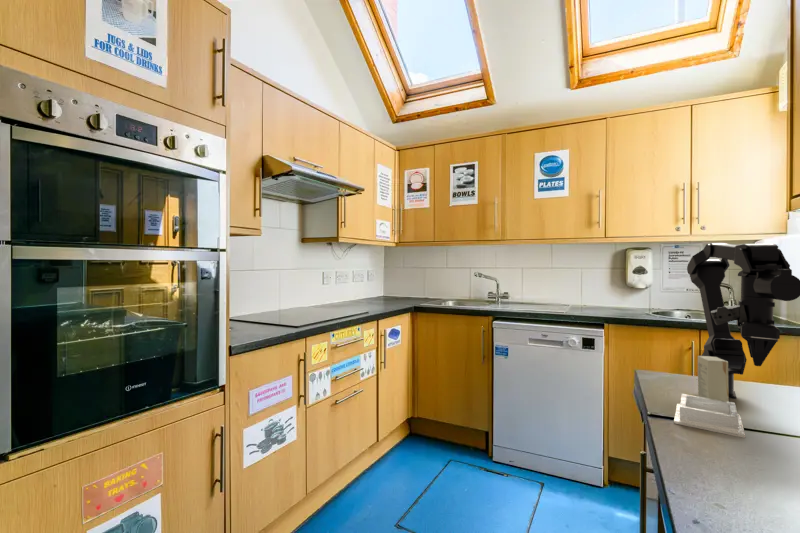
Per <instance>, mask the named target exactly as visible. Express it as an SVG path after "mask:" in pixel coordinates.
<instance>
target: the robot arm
mask: <svg viewBox="0 0 800 533" xmlns="http://www.w3.org/2000/svg"><path fill="white" fill-rule="evenodd" d="M710 258H711V259H710ZM714 258H716V259H714ZM729 261H733V264H734V265H735V266H737V267H740V268H741V270H740V271H739V272H737V276H738V277H740V279H741V280H740V281H741V282H740V299H739V300H738V304H737V305H732V306H725V302H724V298H723V292H722V289H721V285H722V283H723V281H724V279H726V278H725V277H726V272H727V270H728V269H729V267H730V262H729ZM790 267H791V265H790V263H789V262H788V261H787V259H786V257H785V256H784V254H783V251H782V249H780V248H779V246H778V244H776V243H740V244H730V243H726V242H711V243H706V244H705V246H704V247H703V249H702V250H700V251H699V252H697V253H695V254H694V255H692V257H691V258H690V260H689V262H688V264H687V265H686V270H687V273H688V275H689V278H690V281H691V283H693V285H695V286H696V287H697V289H698V290H699V292H700V293H699V294H700V297H701V298H700V299H701V302H702V308H703V314H704V318H705V324H706V328H707V334H708V338H707V340H706V341H705V344H704V345H703V352H702V354H701V355H700V356H711V357H718V358H720V359H723V360H725V361H728V389H729V398H731V399H737V395H736V391H735V388H734V382H735V380H734V379H735V377H734V376H735V375H744V372H745V368H746V364H747V357H746V353H745V351H744V348H743V342H742V341H741V339H735V337H733V335H732V333H731V329H730V325H729V322H735V321H736V326H737V329H738V330H739V332H740V335H741V338H742V339H744V340H745V341H746V342H747V348H748V352H749V356H750V358H752V360H753V365H754V366H755V367H761V366H762V365H763V363H764V362H765V361H766V359H767V357H768V355H769V354H770V353H771V351H772V350H773V348H774V347H775V345H776V343H778V341H779V340H781V339H780V338H781V337H780V336H781V332H780V331H781V330H780V329H779V328H778V327H777V326H775V320H774V308H775V306H776V305H775V304H776V303H775V301H774V300H778V301H782V302H790V301H795V300H796V299H798V298H800V278H798V277H797V276H795V275H793V270H792V269H791V268H790Z"/></svg>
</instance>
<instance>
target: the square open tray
mask: <svg viewBox="0 0 800 533" xmlns="http://www.w3.org/2000/svg"><path fill="white" fill-rule="evenodd" d="M675 408H676V409H675V414H674V419H673V423H674V425H675V424H676V425H680V426H686V427H689V428H694V429H700V430H705V431H709V432H714V433H718V434H724V435H729V436H733V437H738V438H743V439H744V438H746V433H745V428H744V426H743V420H742V418H741V414H738V411H737V406H736V403H735V402H734V401H723V400H717V399H711V398H705V397H699V396H698V395H691V394H686V393H681V396H680V403H676V407H675Z"/></svg>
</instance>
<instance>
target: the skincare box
mask: <svg viewBox="0 0 800 533" xmlns="http://www.w3.org/2000/svg"><path fill="white" fill-rule="evenodd" d="M697 396H699V397H705V398H711V399H717V400H723V401H729V400H730V399H729V389H728V361H725V360H723V359H720V358H718V357H711V356H701V355H697ZM729 402H730V401H729Z"/></svg>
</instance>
